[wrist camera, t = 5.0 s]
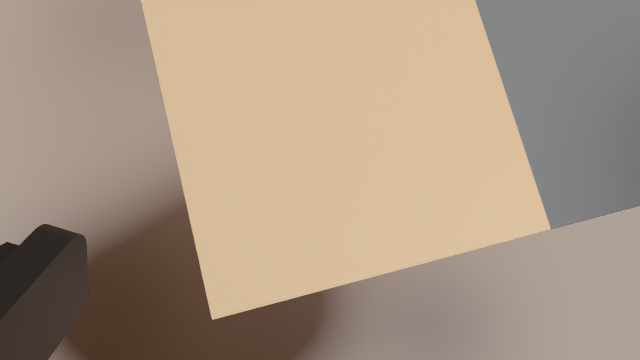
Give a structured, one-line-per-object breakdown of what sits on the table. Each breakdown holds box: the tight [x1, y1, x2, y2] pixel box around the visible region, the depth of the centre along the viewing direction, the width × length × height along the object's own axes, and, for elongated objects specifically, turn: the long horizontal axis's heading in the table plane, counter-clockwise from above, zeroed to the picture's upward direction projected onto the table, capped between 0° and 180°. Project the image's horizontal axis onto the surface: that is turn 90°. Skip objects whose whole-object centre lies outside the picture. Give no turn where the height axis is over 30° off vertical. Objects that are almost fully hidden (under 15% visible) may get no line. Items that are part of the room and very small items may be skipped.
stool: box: [141, 0, 551, 319], centre depth 15 cm, size 6×6×12 cm
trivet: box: [475, 0, 640, 239], centre depth 22 cm, size 14×14×1 cm
